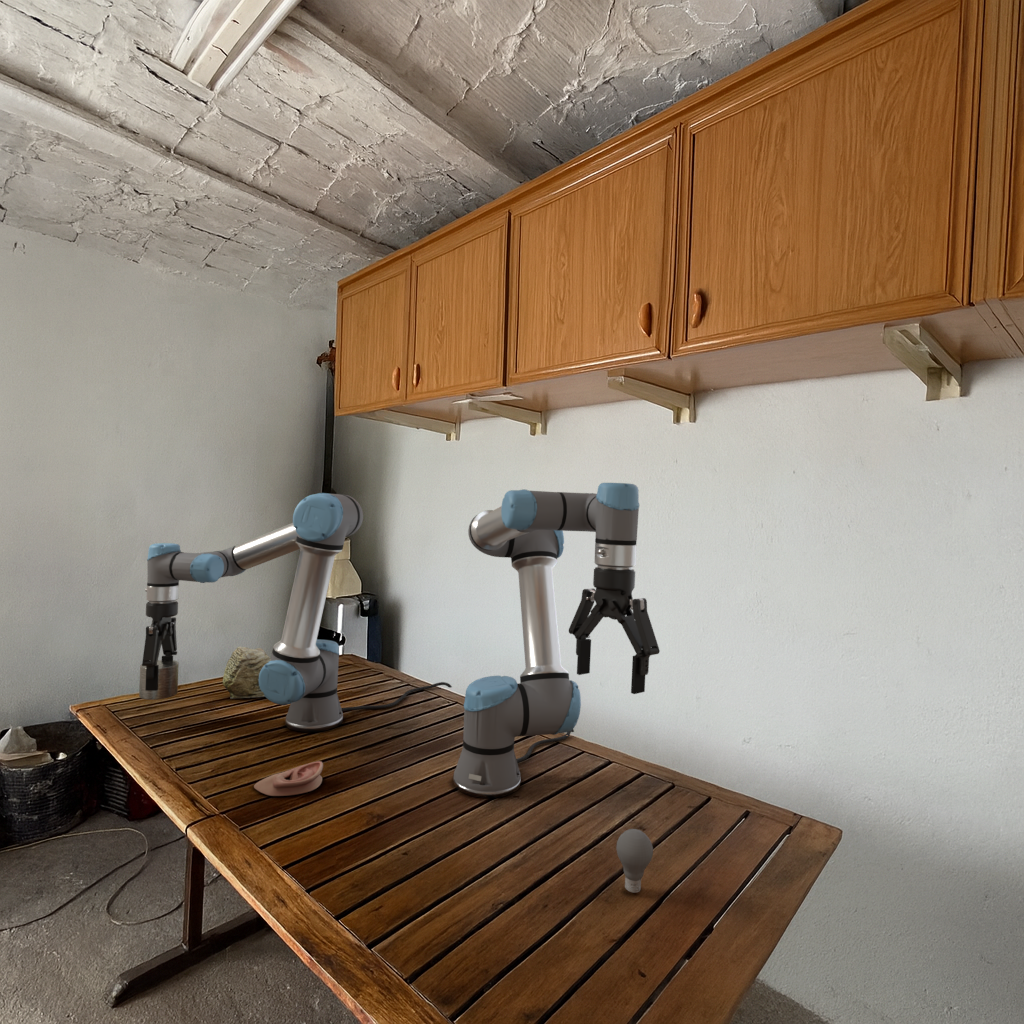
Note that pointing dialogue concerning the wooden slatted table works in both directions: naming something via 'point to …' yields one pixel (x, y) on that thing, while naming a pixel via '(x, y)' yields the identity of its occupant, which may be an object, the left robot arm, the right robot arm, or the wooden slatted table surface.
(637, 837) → the light bulb
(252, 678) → the fossil
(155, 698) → the tin
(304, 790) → the anatomical model
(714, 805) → the wooden slatted table surface
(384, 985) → the wooden slatted table surface
